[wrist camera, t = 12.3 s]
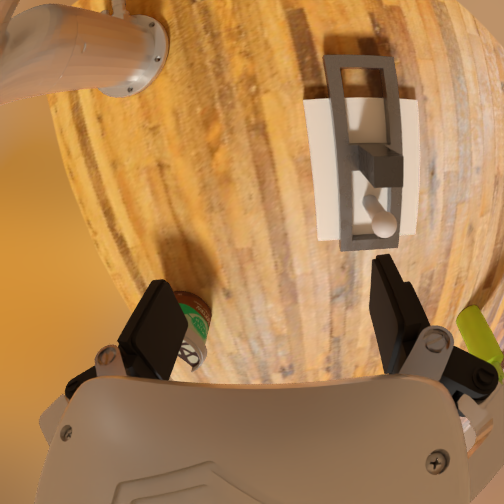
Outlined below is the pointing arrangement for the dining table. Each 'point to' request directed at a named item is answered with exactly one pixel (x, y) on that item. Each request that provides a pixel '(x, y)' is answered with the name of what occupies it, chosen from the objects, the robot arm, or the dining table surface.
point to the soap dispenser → (480, 338)
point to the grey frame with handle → (366, 149)
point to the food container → (194, 328)
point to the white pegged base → (363, 193)
